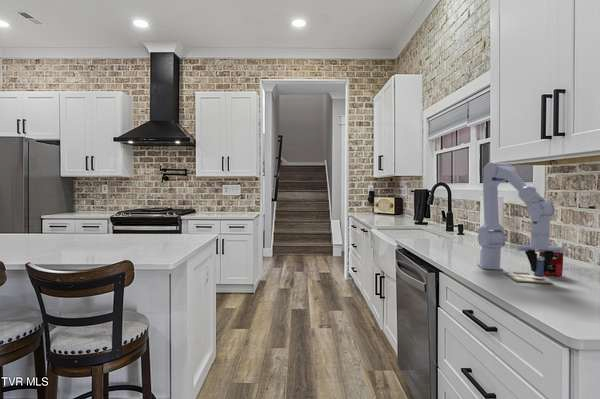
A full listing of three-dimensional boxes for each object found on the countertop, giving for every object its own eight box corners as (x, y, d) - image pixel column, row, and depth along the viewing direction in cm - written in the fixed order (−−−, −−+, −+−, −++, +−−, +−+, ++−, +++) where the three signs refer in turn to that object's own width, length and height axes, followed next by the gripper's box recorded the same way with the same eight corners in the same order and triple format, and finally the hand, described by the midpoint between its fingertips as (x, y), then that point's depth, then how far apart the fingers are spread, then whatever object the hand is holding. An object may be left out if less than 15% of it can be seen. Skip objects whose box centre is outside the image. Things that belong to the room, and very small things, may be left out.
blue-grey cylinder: (532, 274, 145) (533, 255, 144) (541, 275, 144) (542, 256, 144) (535, 276, 142) (536, 257, 141) (545, 277, 141) (546, 258, 141)
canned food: (534, 273, 156) (535, 245, 156) (548, 272, 159) (549, 245, 159) (552, 277, 149) (553, 248, 149) (567, 276, 152) (568, 248, 152)
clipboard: (503, 273, 154) (503, 271, 154) (537, 275, 152) (537, 273, 152) (516, 282, 140) (516, 279, 140) (553, 284, 138) (553, 281, 138)
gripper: (522, 234, 140) (520, 272, 141) (567, 236, 137) (566, 275, 138) (515, 232, 147) (514, 268, 148) (558, 234, 144) (557, 271, 145)
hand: (538, 271), depth 143 cm, fingers closed on blue-grey cylinder, 3 cm apart
